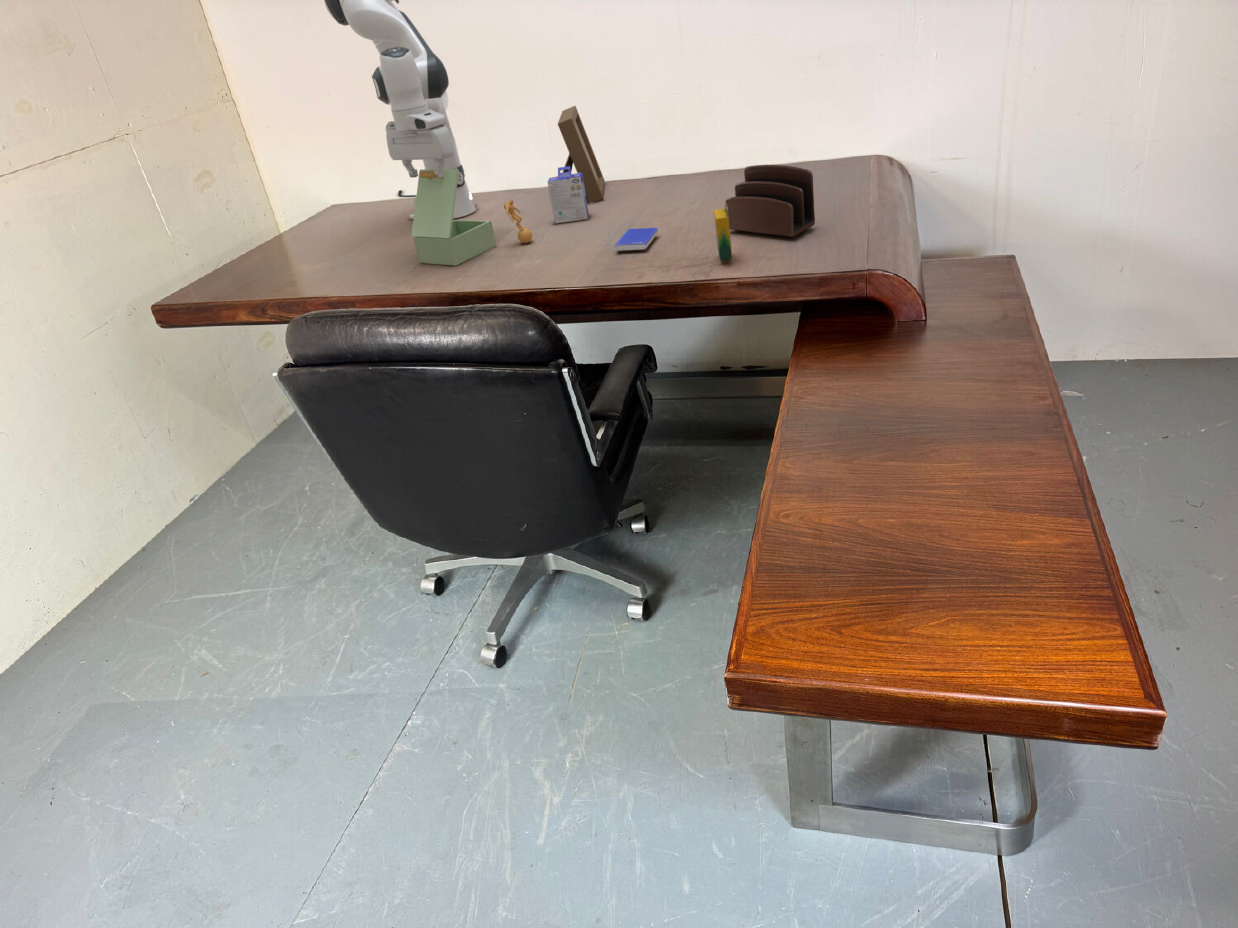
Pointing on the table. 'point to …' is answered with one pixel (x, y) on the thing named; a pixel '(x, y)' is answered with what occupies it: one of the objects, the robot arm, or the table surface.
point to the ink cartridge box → (568, 196)
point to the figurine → (518, 223)
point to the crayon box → (723, 233)
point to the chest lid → (435, 204)
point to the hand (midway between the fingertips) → (426, 177)
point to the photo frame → (581, 154)
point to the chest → (457, 243)
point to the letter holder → (773, 201)
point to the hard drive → (636, 239)
